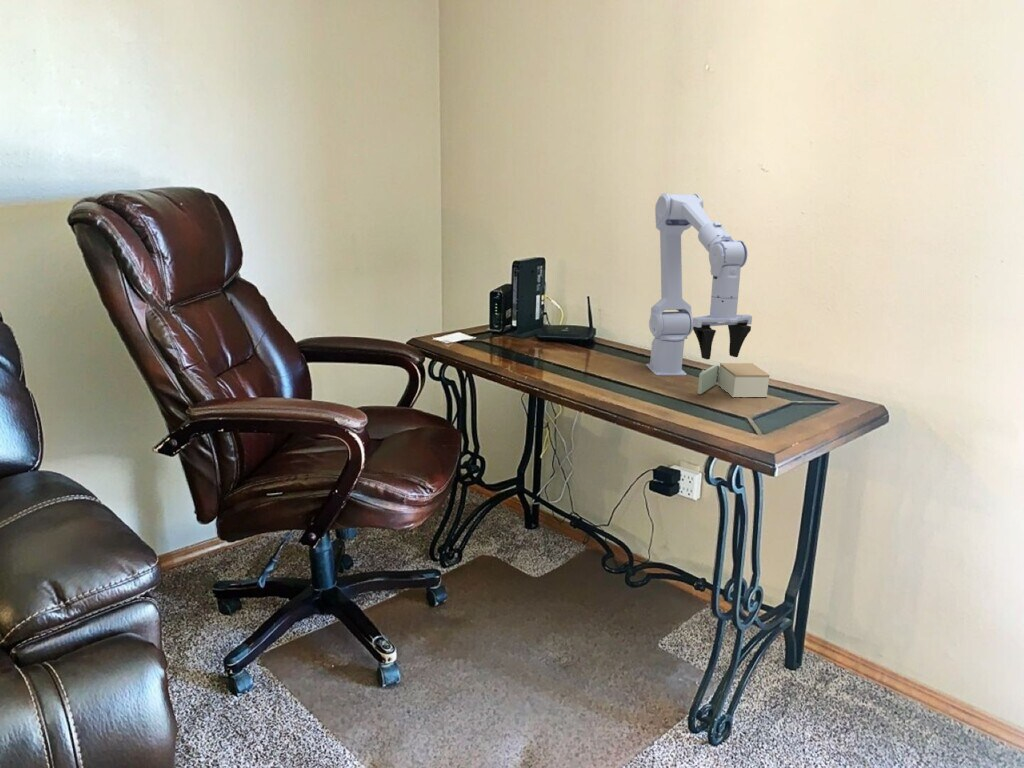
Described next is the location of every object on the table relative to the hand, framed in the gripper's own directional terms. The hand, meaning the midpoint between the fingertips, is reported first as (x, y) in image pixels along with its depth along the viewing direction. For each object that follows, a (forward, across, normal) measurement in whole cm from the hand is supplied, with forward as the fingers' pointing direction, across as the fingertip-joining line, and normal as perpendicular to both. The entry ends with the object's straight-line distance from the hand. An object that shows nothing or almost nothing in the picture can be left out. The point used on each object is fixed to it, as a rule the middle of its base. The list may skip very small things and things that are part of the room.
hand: (719, 357), depth 176 cm
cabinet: (+10, +10, +4) cm, 15 cm away
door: (+9, +3, +8) cm, 12 cm away
